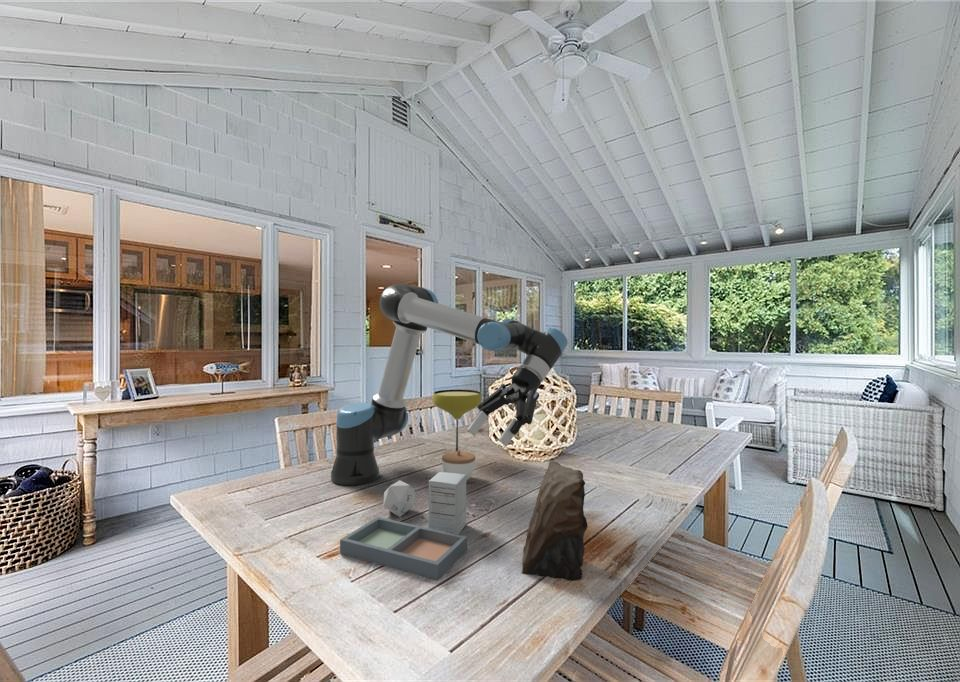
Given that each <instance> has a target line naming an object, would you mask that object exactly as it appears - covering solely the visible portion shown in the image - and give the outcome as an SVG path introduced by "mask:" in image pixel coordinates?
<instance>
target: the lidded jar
mask: <svg viewBox="0 0 960 682" xmlns="http://www.w3.org/2000/svg"><path fill="white" fill-rule="evenodd" d="M441 460H442V462H441V463H442V464H441V465H442V470H443V471H442V472H447V473H457V474H465V475H466V482H467V481H469V479H470V478H471V477H472V476H473V474H474V471H475V467H476V455H475V454H474V453H473V452H468V451H461V450H459V449H458V451H457V452H455V451H450V452H449V451H448V452H445V453H443V455H442V456H441Z"/></svg>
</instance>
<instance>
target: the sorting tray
mask: <svg viewBox="0 0 960 682" xmlns="http://www.w3.org/2000/svg"><path fill="white" fill-rule="evenodd" d="M467 551H468V536H466V535H461V534H453V533H449V532H444V531H440V530H435V529H430V528H429V527H424V526H420V525H416V524H412V523H408V522H404V521H398V520H393V519H390V518H385V517H380V516H377V517H376V518H374V519H372V520H370V521H369V522H367V523H365V524H364V525H362V526H360V527H359V528H356V529H355V530H354V531H352V532H350V533H349V534H347V535H345V536H344V537H342V538H340V540H339V554H340V555H344V556H347V557H351V558H355V559H359V560H363V561H366V562H369V563H373V564H377V565H380V566H384V567H388V568H392V569H395V570H398V571H402V572H406V573H408V574H414V575H417V576H420V577H425V578H428V579H431V580H436V581H438V580H439V579H441V577H443V575H444V574H446V572H448V570H449V569H451V567H453V565H455V563H456V562H457V561H458V560H460V558H461V557H462V556H463V555H465V553H466V552H467Z"/></svg>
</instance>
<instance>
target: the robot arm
mask: <svg viewBox="0 0 960 682" xmlns="http://www.w3.org/2000/svg"><path fill="white" fill-rule="evenodd" d="M379 297H380V298H379V307H380V311H381V312H382V314H383V316H385V317H386V318H388V319H389V320H392V323H393V325H394V326H395V330H394V334H393V337H392V343H391V345H390V350H389V353H388V356H387V361H386V365H385V368H384V371H383V377H382V378H381V383H380V386H379V390H378V392H377V393H375V394H374V395H373V396H372V400H371V403H370V402H357V403H352V404H347V405H344V406H342V407H341V408H339V410H338V411H337V413H336V421H335V424H336V426H335V427H336V456H335V459H334V463H333V466H332V469H331V471H330V481H331V482H332V483H334V484H337V485H343V486H358V485H364V484H365V485H366V484H368V483H371V482H373V481H376V480H378V479H379V477H380V467H379V466H378V462H377V459H376V455H375V449H374V448H375V441H377V440H380V439H384V438H387V437H393V436H395V435H397V434H399V433H400V432H402V431H404V429H405V428H406V426H407V424H408V421H409V413H408V408H407V407H406V405H407V402H406V401H405V399H404V397H405V392H406V389H407V386H408V382H409V379H410V375H411V371H412V367H413V364H414V361H415V360H414V359H415V357H416V352H417V348H418V345H419V342H420V339H421V335H422V334H424V333H425V332H427V329H428V328H429V329H431V330H434V331H437V332H441V333H443V334H447V335H451V336H453V337H457V338H459V339H461V340H465V341H468V342H471V343H474V344H477V345H479V346H480V347H482V348H483V349H484V350H487V351H492V352H500V351H506V350H507V351H509V350H517V351H519V352H521V353H524V355H526V357H525V359H524V360H523V361H522V362H521V364H520V365H519V368H517V370H516V371H515V372H514V374H513V375H512V376H511V383H510V384H509V385H508V386H507V385H506V384H504V383H502V384H501V385H500V386H499V387H498V388H497V389H496V390H495V391H493V393H491V394H490V395H489V396H488V397H486V398H485V399H484V400H483V401H481V403H480V404H479V405H478V406H477V409H478V410H479V412H478V414H476V416H475V418H474V419H473V420H472V422H471V424H469V427H468V428H467V430H466V431H468V432H469V433H470V434H471V435H472V437H475V436H476V435H477V433H478V432H479V431H480V429H481V428H482V427H483V425H484V424H485V423H486V421H487V420H488V418H489V415H490V414H492V413H493V412H495V411H497V410H498V409H500V408H502V407H504V406H505V405H509V404H511V405H512V404H514V405H515V407H516V408H515V412H516V413H515V416H514V417H513V418H512V419H511V420H510V422H509V424H508V425H507V426H506V428H505V429H504V430H503V432H502V434H501V435H500V437H499V438H498V441H500V443H501V444H502V445H503V447H508V445H509V444H510V442H511V440H512V439H513V438H514V437H515V435H517V434H518V432H519V430H520V429H521V428H522V426H524V425H527V424H528V425H531V424H532V423H533V420H534V419H533V418H534V414H535V409H536V405H537V401H538V400H539V398H540V396H541V395H540V393H539V392H538V389H539V388H540V386H541V385H542V383H543V382H544V380H545V379H546V377H547V375H548V374H549V372H550V371H551V370H552V368H553V367H554V366H555V364H556V363H557V361H558V360H559V359H560V358H561V356H562V355H563V352H564V351H565V349H566V348H567V346H568V344H569V343H568V339H567V336H566V335H565V333H563V332H562V331H561V330H559V329H557V328H554V327H549V328H546V330H544V331H543V332H542V331H539V330H537V329H535V328H533V327H531V326H528V325H525V324H523V323H521V322H520V321H518V320H514V319H512V318H505V319H503V320H502V321H498V320H493V319H490V318H487V317H484V316H480V315H477V314H473V313H470V312H468V311H467V312H466V311H464V310H461V309H457V308H454V307H451V306H446V305H443V304H440V303H439V300H438V298H437V295H436V294H435V293H434V292H433V291H432V290H430V289H428V288H425V287H421V286H415V285H405V284H400V283H399V284H392V285H390V286H387V288H386V289H384V290H383V291H382V293H381V294H380V296H379Z"/></svg>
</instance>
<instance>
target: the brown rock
mask: <svg viewBox="0 0 960 682" xmlns="http://www.w3.org/2000/svg"><path fill="white" fill-rule="evenodd" d="M585 485H586V481H585V480H584V473H583V472H582V470H580V469H573V468H572V467H566V466H564V465H561V463H559V462H558V461H554V460H550V461H549V462H548V466H547V469H546V471H545V474H544V476H543V478H542V482H541V484H540V487H539V490H538V494H537V497H536V502H535V507H534V510H533V513H532V516H531V518H530V520H529V525H528V528H527V534H526V539H525V543H524V547H523V552H522V553H523V556H522V563H521V565H522V567H521V568H522V571H521V574H523V575H530V576H537V577H544V578H545V577H546V578H552V579H558V580H559V579H562V580H564V581H569V582H571V581H573V582H574V581H580V580H582V579H583V575H584V574H583V569H582V567H583V565H584V555H585V550H586V549H585V543H584V535H585V534H586V530H588V527H589V526H588V522H587V518H586V516H585V511H584V505H585V497H586V492H585Z"/></svg>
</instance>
